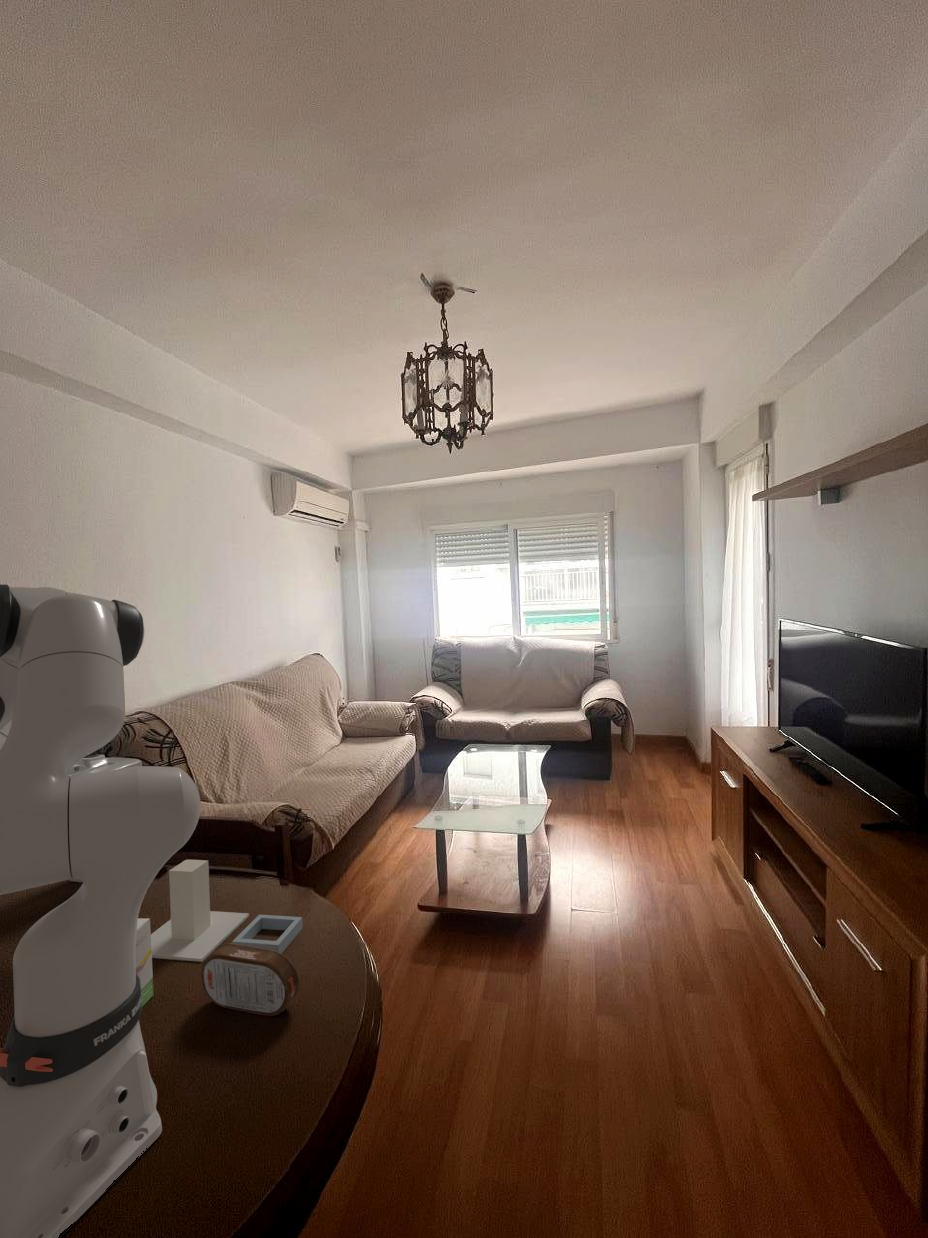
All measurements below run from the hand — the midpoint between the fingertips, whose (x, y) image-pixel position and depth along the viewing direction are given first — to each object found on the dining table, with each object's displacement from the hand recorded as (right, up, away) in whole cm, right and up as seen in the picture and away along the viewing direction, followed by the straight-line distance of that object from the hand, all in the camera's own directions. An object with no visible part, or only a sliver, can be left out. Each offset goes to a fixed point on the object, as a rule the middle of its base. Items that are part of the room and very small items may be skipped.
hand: (126, 782), depth 101 cm
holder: (+28, -26, -5) cm, 38 cm away
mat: (+13, -27, -2) cm, 30 cm away
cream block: (+13, -26, -2) cm, 29 cm away
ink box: (+11, -27, -20) cm, 35 cm away
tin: (+31, -26, -21) cm, 46 cm away
